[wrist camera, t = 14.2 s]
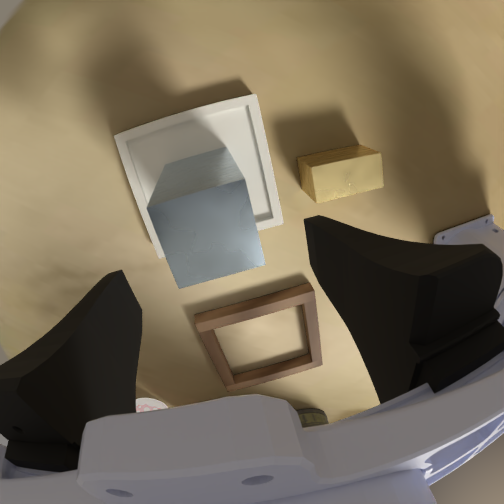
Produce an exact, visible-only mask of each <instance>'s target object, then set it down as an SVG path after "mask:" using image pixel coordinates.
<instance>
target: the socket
mask: <svg viewBox="0 0 504 504" xmlns="http://www.w3.org/2000/svg"><path fill="white" fill-rule="evenodd" d="M301 304H302V311H303V317H304V323H305V330H306V337H307V343H308V350H309V354H307V355H304V356H301V357H297V358H294V359H291V360H288V361H284V362H281V363H277V364H274V365H270V366H267V367H263V368H260V369H256V370H252V371H248V372H245V373H241V374H237V375H233V373H232V371H231V369H230V367H229V364H228V362H227V360H226V358H225V355H224V353H223V351H222V349H221V346H220V344H219V342H218V339H217V337H216V335H215V332H214V330H213V329H216V328H220V327H223V326H227V325H231V324H235V323H238V322H242V321H246V320H249V319H253V318H256V317H260V316H263V315H267V314H270V313H274V312H277V311H281V310H284V309H287V308H291V307H294V306H297V305H301ZM195 326H196V328H197V330H198V332H199V334H200V336H201V338H202V341H203V343H204V345H205V347H206V349H207V351H208V353H209V355H210V357H211V359H212V361H213V363H214V365H215V367H216V369H217V371H218V373H219V375H220V377H221V379H222V381H223V383H224V385H225V387H226V389H227V391H228V392H229V391H234V390H238V389H242V388H246V387H250V386H254V385H257V384H261V383H265V382H268V381H272V380H276V379H279V378H283V377H286V376H289V375H293V374H296V373H299V372H302V371H306V370H309V369H312V368H315V367H318V366H321V365H322V354H321V344H320V334H319V325H318V316H317V308H316V299H315V291H314V289H313V287H312V285H311V284H310V283H306V284H303V285H300V286H296V287H293V288H290V289H286V290H283V291H279V292H276V293H273V294H269V295H266V296H262V297H259V298H255V299H251V300H248V301H244V302H241V303H237V304H233V305H230V306H226V307H222V308H219V309H215V310H211V311H207V312H204V313H200V314H196V315H195Z"/></svg>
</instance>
